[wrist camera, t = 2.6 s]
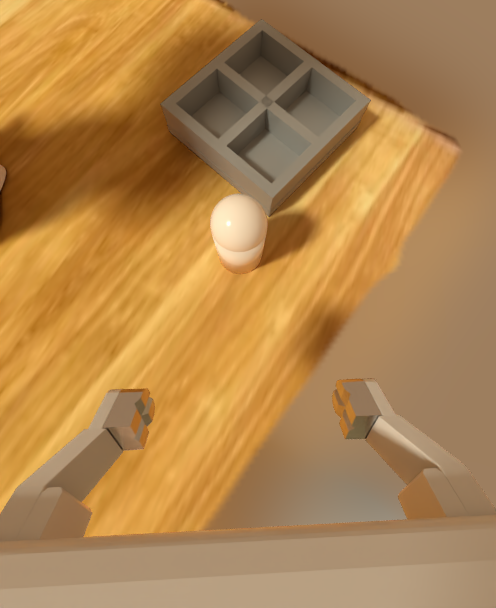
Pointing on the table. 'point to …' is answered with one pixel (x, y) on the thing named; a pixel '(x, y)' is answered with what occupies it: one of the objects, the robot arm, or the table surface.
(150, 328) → the table surface
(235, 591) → the robot arm
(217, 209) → the cream rounded piece
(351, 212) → the table surface
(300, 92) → the grey compartment tray
